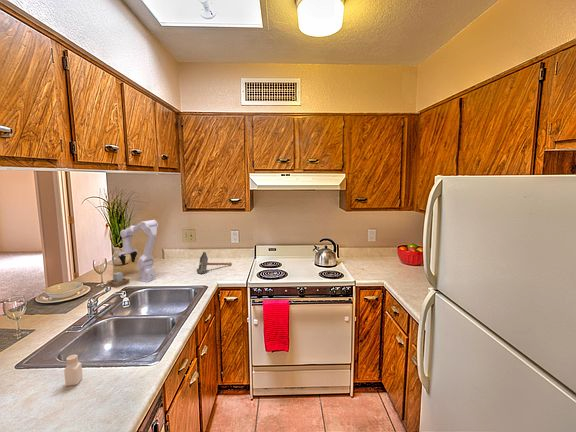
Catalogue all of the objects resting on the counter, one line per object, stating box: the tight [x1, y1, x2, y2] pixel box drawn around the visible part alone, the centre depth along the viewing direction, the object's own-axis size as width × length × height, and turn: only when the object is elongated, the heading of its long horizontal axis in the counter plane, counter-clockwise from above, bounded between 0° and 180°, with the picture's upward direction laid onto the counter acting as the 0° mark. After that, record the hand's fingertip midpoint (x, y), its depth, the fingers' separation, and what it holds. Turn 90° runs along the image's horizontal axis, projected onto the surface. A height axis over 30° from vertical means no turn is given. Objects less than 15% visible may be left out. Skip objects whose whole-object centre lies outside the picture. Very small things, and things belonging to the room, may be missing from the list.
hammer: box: [196, 251, 232, 274], centre depth 234 cm, size 6×16×30 cm
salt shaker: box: [63, 354, 83, 387], centre depth 102 cm, size 4×4×10 cm
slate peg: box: [112, 271, 124, 283], centre depth 199 cm, size 4×4×8 cm
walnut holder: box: [106, 277, 130, 289], centre depth 200 cm, size 9×9×3 cm
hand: (128, 263), depth 216 cm, fingers open, 7 cm apart
